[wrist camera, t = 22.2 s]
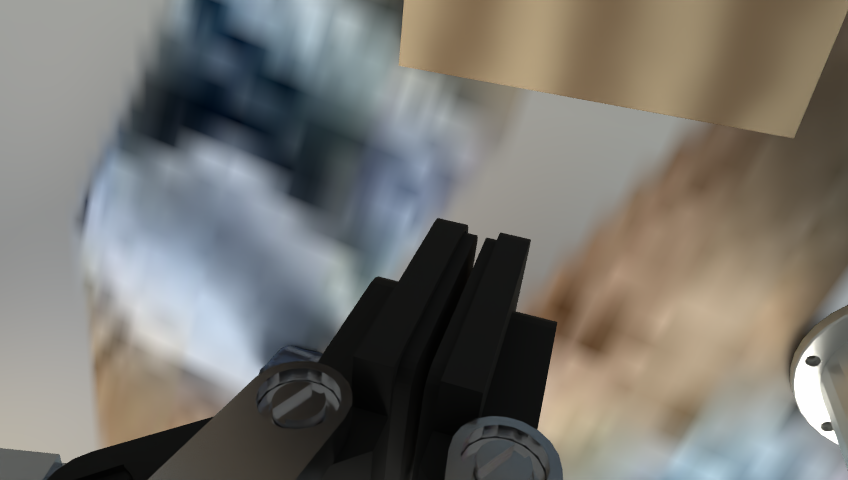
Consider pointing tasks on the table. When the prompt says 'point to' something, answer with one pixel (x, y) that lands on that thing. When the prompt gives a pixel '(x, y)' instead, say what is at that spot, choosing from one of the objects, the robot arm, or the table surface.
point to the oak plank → (638, 52)
